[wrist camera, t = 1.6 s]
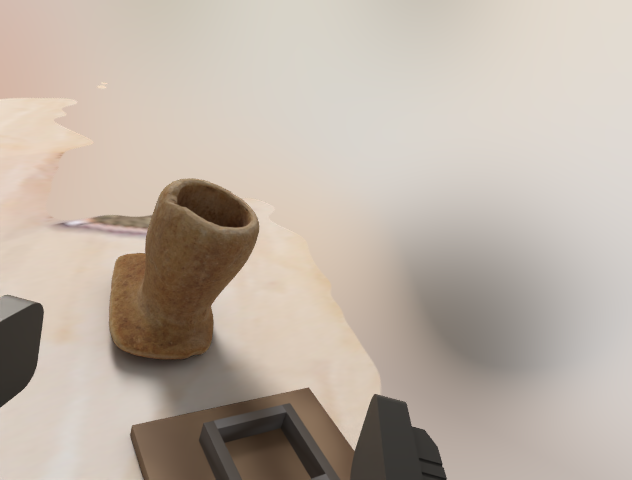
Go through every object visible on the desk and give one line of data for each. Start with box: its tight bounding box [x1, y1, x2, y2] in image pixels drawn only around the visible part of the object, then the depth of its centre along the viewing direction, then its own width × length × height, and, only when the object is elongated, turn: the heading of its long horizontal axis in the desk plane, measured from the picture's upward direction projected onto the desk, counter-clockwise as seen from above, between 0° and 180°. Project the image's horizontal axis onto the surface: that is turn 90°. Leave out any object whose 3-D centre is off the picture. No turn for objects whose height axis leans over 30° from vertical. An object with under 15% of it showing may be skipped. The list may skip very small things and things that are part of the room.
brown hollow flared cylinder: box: [109, 179, 259, 359], centre depth 46 cm, size 15×12×15 cm
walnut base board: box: [130, 388, 355, 480], centre depth 35 cm, size 16×13×3 cm
